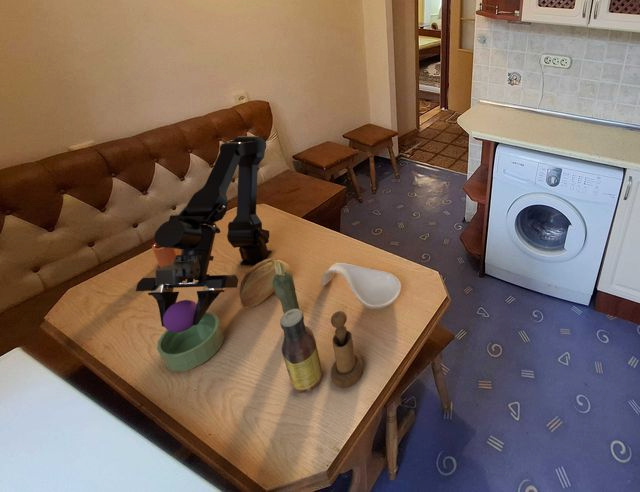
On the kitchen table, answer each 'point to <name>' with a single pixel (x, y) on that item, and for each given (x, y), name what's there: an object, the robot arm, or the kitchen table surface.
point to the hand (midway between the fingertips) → (179, 325)
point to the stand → (164, 255)
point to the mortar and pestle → (344, 354)
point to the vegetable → (284, 287)
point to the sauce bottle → (300, 352)
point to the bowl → (191, 344)
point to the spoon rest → (367, 284)
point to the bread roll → (259, 282)
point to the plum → (180, 316)
